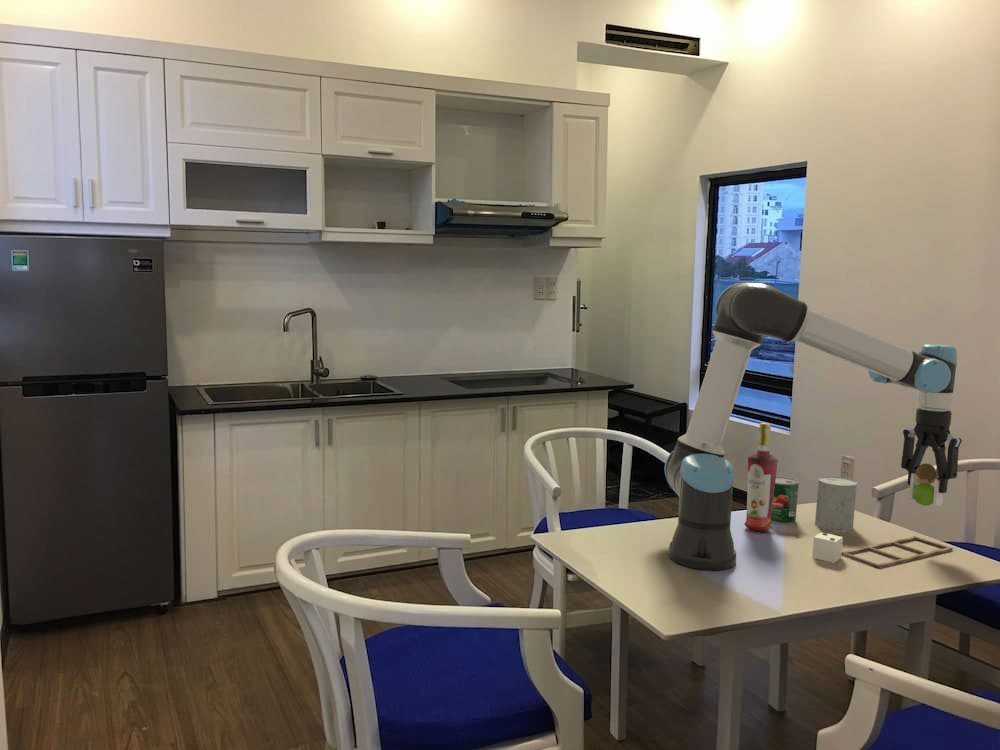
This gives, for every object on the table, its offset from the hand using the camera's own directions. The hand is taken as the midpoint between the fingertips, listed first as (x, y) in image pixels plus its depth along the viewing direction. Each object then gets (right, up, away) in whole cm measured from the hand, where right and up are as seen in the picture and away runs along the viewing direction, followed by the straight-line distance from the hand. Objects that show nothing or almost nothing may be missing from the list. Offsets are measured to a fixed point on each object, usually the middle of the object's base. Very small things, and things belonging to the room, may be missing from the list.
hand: (925, 501), depth 198 cm
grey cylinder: (-16, -9, +17) cm, 25 cm away
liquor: (-38, -9, +11) cm, 40 cm away
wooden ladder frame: (-8, -12, -3) cm, 15 cm away
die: (-28, -12, -8) cm, 31 cm away
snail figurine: (0, -1, 0) cm, 1 cm away
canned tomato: (-28, -8, +21) cm, 36 cm away
